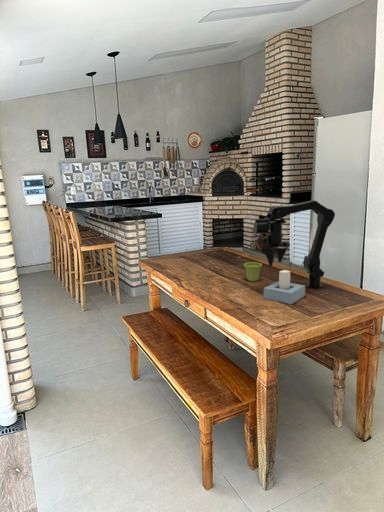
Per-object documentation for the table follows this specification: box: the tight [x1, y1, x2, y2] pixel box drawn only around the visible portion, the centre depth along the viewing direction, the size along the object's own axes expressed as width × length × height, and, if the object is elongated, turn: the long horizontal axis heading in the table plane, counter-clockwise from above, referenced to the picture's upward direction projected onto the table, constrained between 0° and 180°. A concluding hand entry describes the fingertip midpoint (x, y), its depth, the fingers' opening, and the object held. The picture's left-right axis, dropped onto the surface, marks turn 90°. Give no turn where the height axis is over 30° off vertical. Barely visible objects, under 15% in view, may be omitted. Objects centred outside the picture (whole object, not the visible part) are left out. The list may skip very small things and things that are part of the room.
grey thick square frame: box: [263, 280, 306, 305], centre depth 181 cm, size 14×14×5 cm
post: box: [278, 269, 291, 290], centre depth 180 cm, size 4×4×12 cm
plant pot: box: [243, 261, 263, 282], centre depth 210 cm, size 9×9×9 cm
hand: (275, 264), depth 190 cm, fingers open, 9 cm apart
